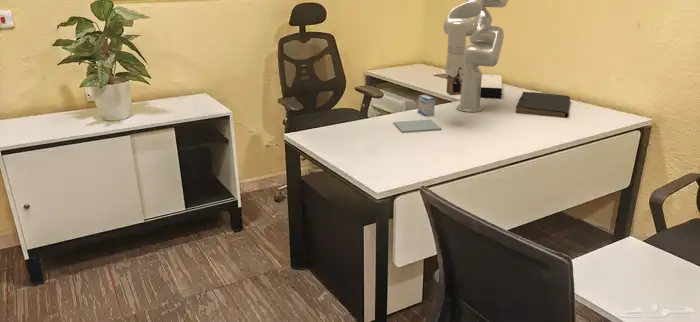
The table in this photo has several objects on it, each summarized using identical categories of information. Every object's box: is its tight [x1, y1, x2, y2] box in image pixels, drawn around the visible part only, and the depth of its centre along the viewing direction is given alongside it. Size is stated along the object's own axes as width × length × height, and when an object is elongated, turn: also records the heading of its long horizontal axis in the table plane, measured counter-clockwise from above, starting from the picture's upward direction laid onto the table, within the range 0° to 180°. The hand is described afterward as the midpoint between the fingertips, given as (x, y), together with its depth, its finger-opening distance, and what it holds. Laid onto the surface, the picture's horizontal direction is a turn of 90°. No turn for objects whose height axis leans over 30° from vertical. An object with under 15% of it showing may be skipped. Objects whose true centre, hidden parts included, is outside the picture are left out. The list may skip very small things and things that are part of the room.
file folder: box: [515, 91, 571, 119], centre depth 269 cm, size 33×4×24 cm
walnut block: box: [446, 74, 462, 96], centre depth 238 cm, size 5×5×8 cm
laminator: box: [480, 73, 504, 100], centre depth 301 cm, size 34×12×6 cm, turn 165°
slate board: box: [393, 119, 442, 134], centre depth 240 cm, size 14×18×1 cm
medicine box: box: [417, 94, 436, 117], centre depth 258 cm, size 8×4×9 cm, turn 27°
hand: (454, 90), depth 239 cm, fingers closed on walnut block, 5 cm apart
